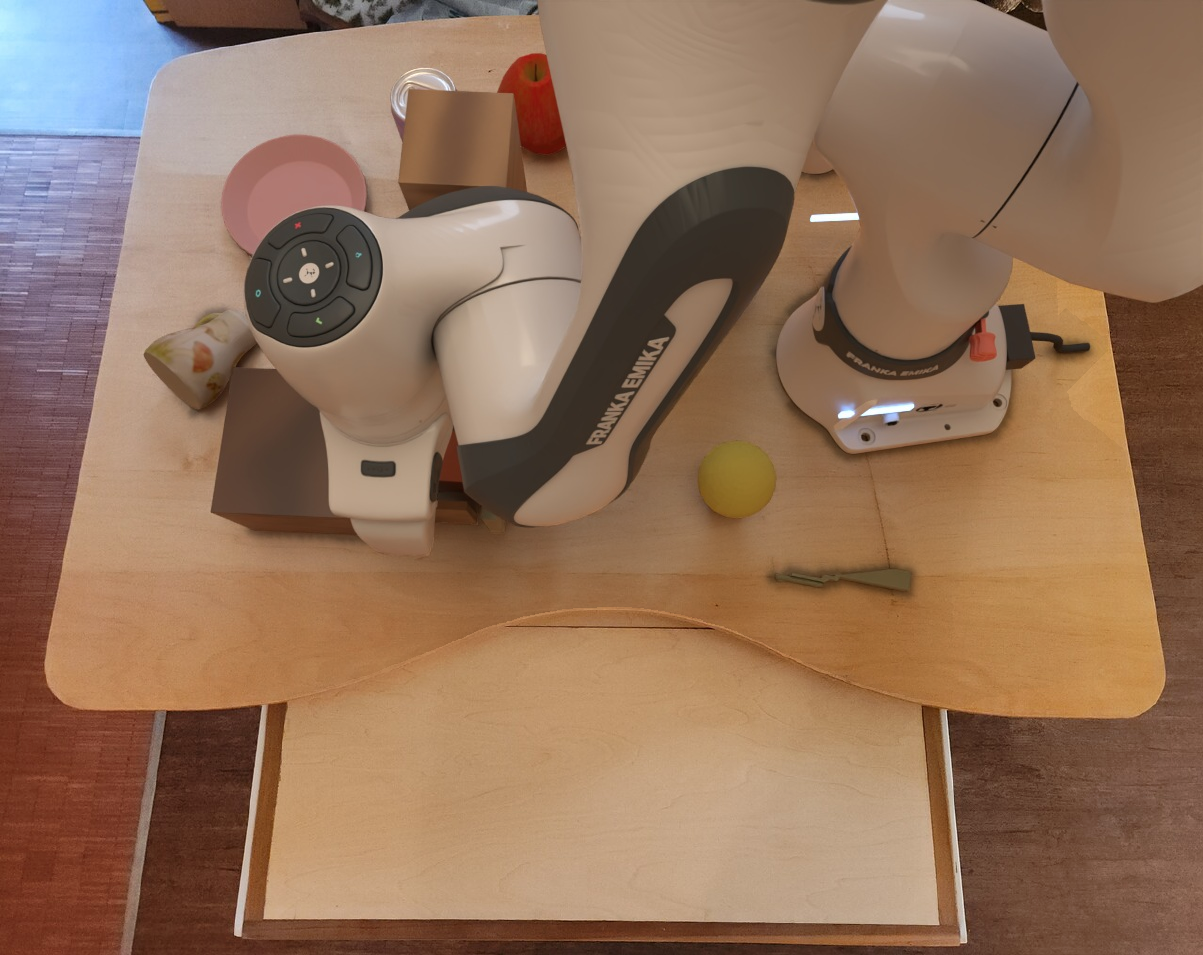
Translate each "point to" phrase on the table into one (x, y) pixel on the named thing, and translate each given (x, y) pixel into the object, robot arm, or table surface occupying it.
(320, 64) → the table surface
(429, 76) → the beverage can
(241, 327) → the mug
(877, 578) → the toy shotgun
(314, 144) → the plate
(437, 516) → the drawer
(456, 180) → the stand
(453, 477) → the block
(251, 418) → the cabinet
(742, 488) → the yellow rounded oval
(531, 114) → the apple
